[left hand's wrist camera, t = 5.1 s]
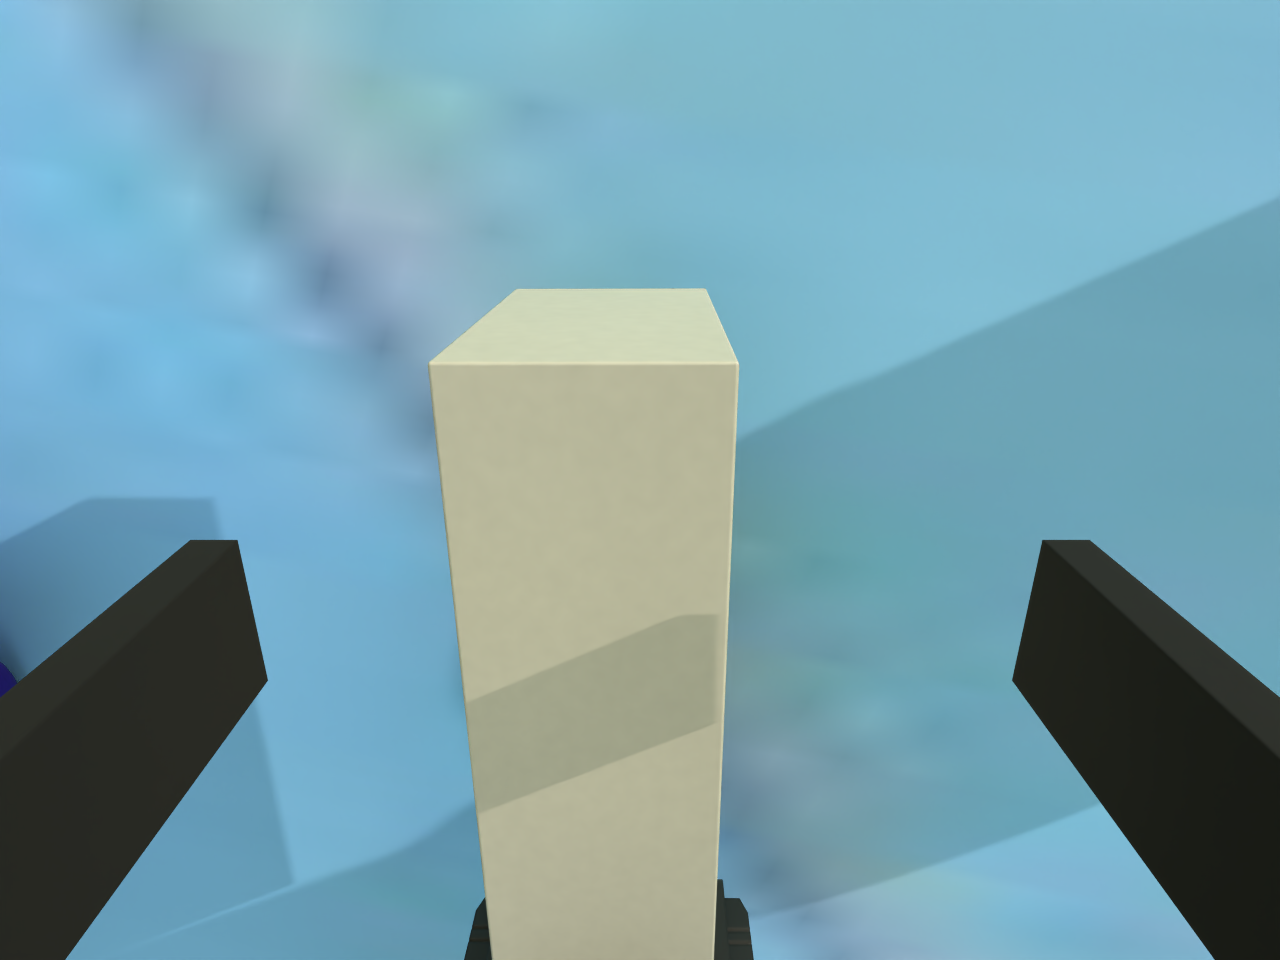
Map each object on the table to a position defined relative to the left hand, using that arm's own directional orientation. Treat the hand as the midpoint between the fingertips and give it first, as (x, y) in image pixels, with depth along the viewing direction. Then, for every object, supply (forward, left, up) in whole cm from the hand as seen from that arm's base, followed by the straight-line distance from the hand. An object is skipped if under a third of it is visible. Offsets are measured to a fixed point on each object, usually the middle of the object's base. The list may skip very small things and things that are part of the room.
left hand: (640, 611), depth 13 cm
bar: (+8, -1, -12) cm, 14 cm away
